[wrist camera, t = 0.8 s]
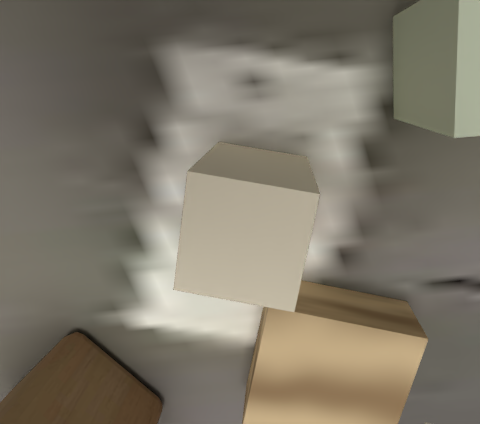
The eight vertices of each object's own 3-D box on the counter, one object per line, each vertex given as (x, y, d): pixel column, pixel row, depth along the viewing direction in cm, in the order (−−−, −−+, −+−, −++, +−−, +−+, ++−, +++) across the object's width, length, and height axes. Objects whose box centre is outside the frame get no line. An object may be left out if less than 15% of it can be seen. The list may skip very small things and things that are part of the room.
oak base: (270, 272, 31) (268, 306, 26) (405, 299, 31) (428, 339, 26) (246, 383, 34) (241, 431, 30) (369, 409, 34) (383, 462, 29)
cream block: (219, 141, 29) (187, 171, 19) (307, 156, 28) (320, 194, 19) (207, 224, 30) (173, 289, 21) (290, 239, 30) (294, 312, 21)
